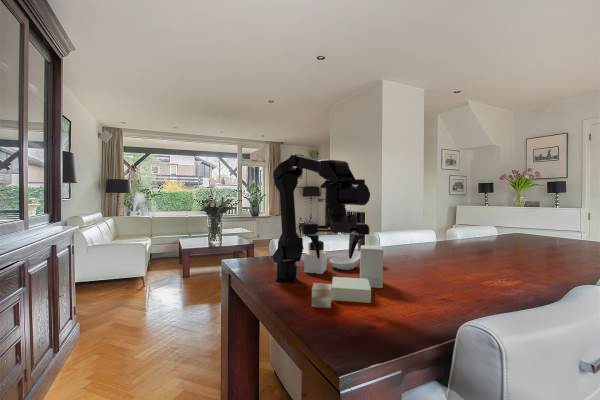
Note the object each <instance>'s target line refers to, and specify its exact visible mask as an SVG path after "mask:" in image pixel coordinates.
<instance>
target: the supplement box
mask: <svg viewBox="0 0 600 400" xmlns="http://www.w3.org/2000/svg"><path fill="white" fill-rule="evenodd" d="M359 251H360V262H359V278H361V279H368V280H369V284H370V288H373V289H374V288H377V289H382V288H384V287H383V286H384V284H383V283H384V279H383V278H384V267H383V261H384V248H383V246H382V245H361V244H360V250H359Z"/></svg>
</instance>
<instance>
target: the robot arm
mask: <svg viewBox="0 0 600 400" xmlns="http://www.w3.org/2000/svg"><path fill="white" fill-rule="evenodd" d="M304 170H308V171H311V172H314V173H316V174H318V176H320V177H321V178H323V179H324V180H325V181H324V182H323V183H322V184H321V185H320V189H325V190H324V191H325V194H324V195H325V196H324V197H325V198H324V199H325V200H324V201H325V202H324V203H325V205H324V224H323V225H322V224H319V225H318V223H316V222H302V224H301V233H302V235H305V236H306V237H307V238H309V239H310V241H311V240H312V243H313V245H314V248H315V251H316V255H317V258H318V259H320V252H319V238H320V236H319V235H318V232H319V233H323V232H325V233H329V232H331V233H333V234H338V233H344V234H348V233H349V237H348V238H349V240H348V254H349V258H350V259H351V258H352V255H353V253H355V250H356V247H357V245H358V243H359V241H360V240H361V239H363V238H365V237H366V235H370V226H369V225H368V224H367V223H364V222H358V219H357V218H358V216H357V215H356V214H354V213H353V214H347V208H346V205H347V206H366V205H367V204H368V203H369V201H370V199H371V198H370V197H371V192H370V189H369V187H368V185H367V184H366V180H365V179H364V178H363V179H360V178H359V179H357V178H356V177H355V176H354V174H353V172H352V170H351V169H350V165H349V163H348V162H347V161H346V160H337V159H319V158H314V157H310V156H306V155H303V154H296V153H295V154H290V156H289V157H288V158H287V159H286V160H284V161H282V162H280V163H279V164H278V165H277V166H276V167H275V169H274V171H273V173H272V177H273V181H274V182H273V183H274V186H275V187H276V188H277V191H278V192H279V200H280V219H281V220H280V221H281V235H280V237H279V238H278V241H277V249H276V250H275V251H274V253H273V254H272V255H271V256H272V262H273V263H275V264H276V278H275V281H276V282H287V283H288V282H289V283H293V282H295V281H296V280H297V278H298V277H299V276H298V271H299V269H298V268H299V266H298V265H297V262H298V263H299V262H301V259H302V255H303V251H304V244H303V243H304V239H303V237H302V236H301V237H300V236H299V235H298V232H297V223H296V219H297V218H296V208H295V191H296V188H297V186H298V184H299V183H298V182H299V178H300V177H301V175H303V171H304Z"/></svg>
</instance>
